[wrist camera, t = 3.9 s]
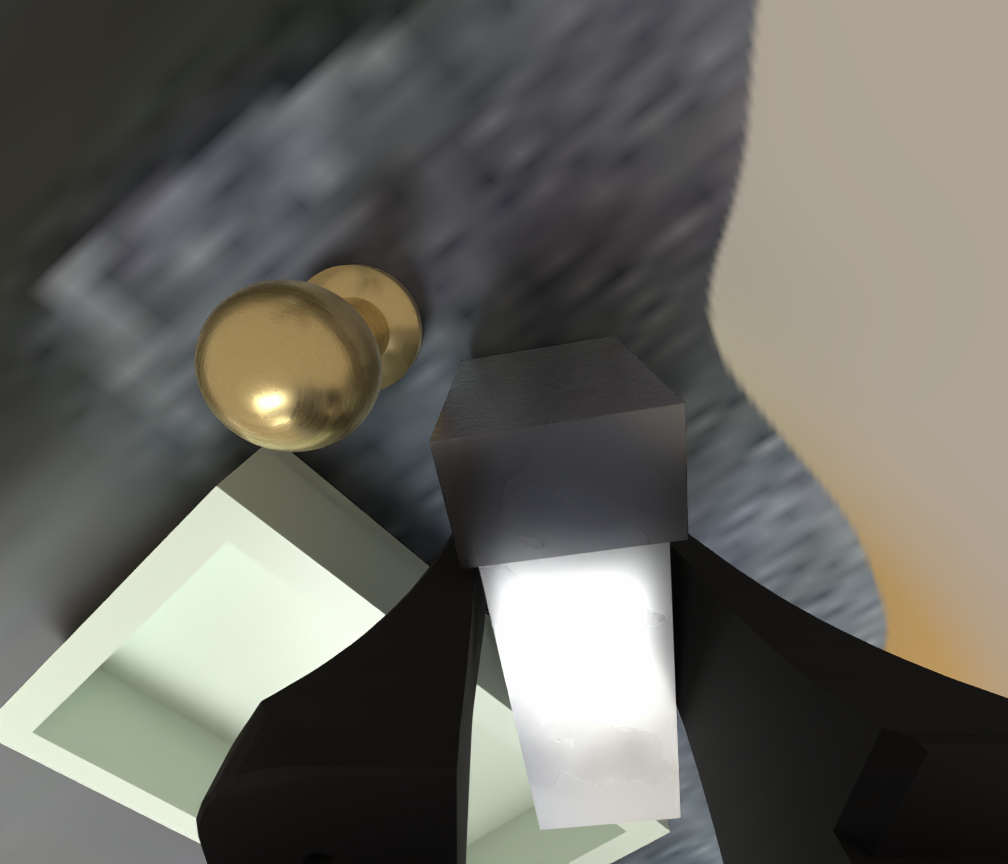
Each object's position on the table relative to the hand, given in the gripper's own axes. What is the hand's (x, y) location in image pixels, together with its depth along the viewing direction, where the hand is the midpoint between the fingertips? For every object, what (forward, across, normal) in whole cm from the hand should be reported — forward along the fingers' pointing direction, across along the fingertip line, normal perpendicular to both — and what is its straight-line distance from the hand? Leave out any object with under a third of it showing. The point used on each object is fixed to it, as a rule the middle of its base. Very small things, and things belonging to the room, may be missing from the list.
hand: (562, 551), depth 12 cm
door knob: (+2, +5, -5) cm, 8 cm away
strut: (+2, 0, 0) cm, 2 cm away
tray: (+2, +6, +8) cm, 10 cm away
